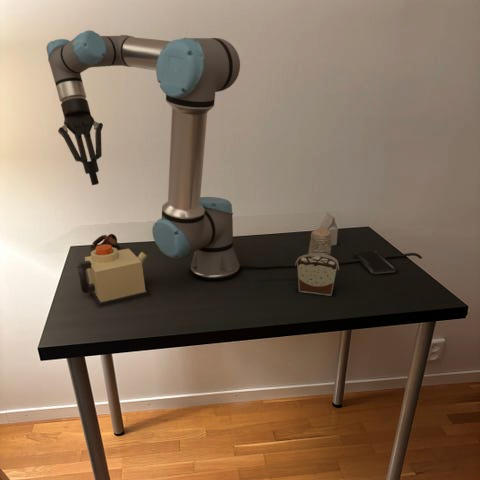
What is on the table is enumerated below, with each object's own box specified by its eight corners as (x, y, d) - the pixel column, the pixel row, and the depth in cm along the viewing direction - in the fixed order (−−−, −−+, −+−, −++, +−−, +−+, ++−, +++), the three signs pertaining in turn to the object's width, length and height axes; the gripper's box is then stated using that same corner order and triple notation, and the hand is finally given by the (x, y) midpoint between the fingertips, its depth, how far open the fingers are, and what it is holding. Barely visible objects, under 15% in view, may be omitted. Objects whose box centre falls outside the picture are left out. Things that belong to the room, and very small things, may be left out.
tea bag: (326, 245, 174) (328, 218, 169) (320, 239, 179) (321, 212, 174) (336, 244, 174) (338, 217, 169) (329, 238, 180) (331, 211, 175)
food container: (340, 287, 145) (343, 255, 140) (336, 296, 140) (339, 263, 135) (298, 282, 148) (300, 250, 143) (294, 290, 143) (295, 258, 138)
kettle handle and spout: (143, 276, 154) (139, 242, 149) (158, 292, 144) (154, 257, 138) (78, 291, 146) (71, 256, 140) (89, 309, 136) (82, 272, 130)
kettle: (132, 279, 152) (127, 242, 146) (146, 294, 143) (141, 255, 137) (90, 288, 147) (83, 251, 141) (101, 305, 138) (94, 265, 132)
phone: (377, 251, 165) (397, 268, 152) (376, 254, 166) (396, 272, 153) (354, 253, 164) (372, 271, 151) (354, 256, 165) (372, 274, 152)
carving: (321, 273, 153) (323, 236, 147) (303, 266, 158) (304, 230, 152) (334, 267, 157) (337, 231, 151) (316, 261, 162) (318, 225, 156)
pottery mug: (121, 262, 165) (105, 244, 160) (100, 272, 169) (83, 254, 164) (129, 241, 174) (114, 223, 169) (108, 251, 177) (93, 233, 172)
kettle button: (109, 249, 143) (109, 243, 142) (114, 253, 140) (113, 248, 139) (94, 251, 141) (93, 246, 140) (98, 257, 138) (97, 251, 137)
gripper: (93, 102, 148) (113, 182, 153) (48, 106, 143) (71, 189, 148) (98, 95, 141) (119, 178, 147) (52, 99, 136) (75, 186, 141)
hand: (95, 184), depth 147 cm, fingers closed
